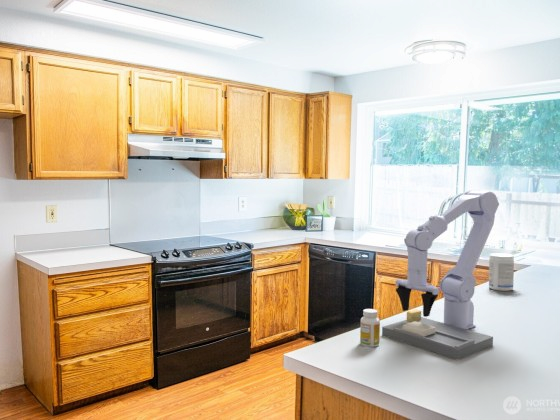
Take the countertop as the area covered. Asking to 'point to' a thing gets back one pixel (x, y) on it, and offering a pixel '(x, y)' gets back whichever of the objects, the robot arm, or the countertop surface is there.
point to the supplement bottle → (370, 328)
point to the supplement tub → (501, 271)
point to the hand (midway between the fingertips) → (415, 313)
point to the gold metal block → (414, 316)
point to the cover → (419, 328)
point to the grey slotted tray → (441, 338)
